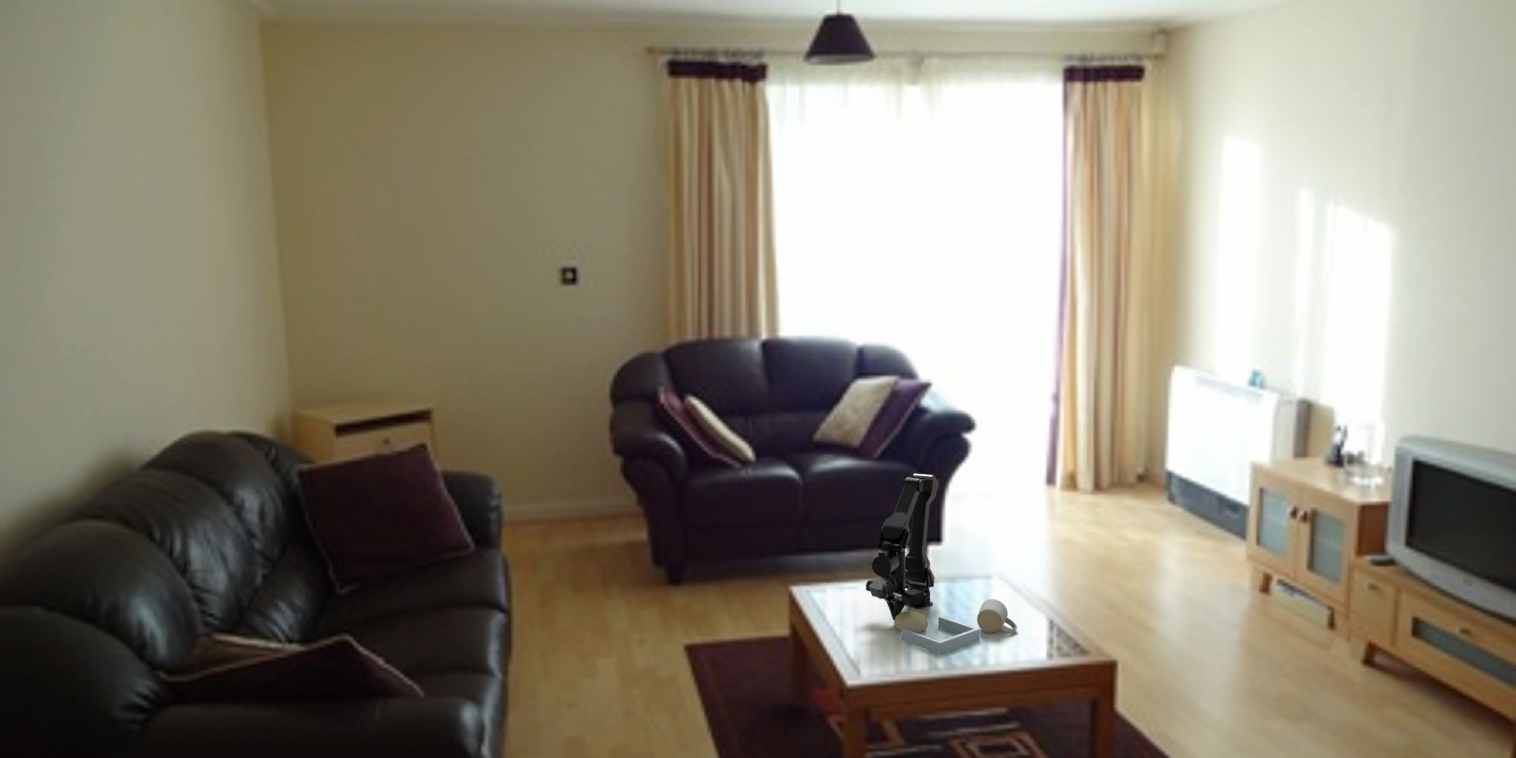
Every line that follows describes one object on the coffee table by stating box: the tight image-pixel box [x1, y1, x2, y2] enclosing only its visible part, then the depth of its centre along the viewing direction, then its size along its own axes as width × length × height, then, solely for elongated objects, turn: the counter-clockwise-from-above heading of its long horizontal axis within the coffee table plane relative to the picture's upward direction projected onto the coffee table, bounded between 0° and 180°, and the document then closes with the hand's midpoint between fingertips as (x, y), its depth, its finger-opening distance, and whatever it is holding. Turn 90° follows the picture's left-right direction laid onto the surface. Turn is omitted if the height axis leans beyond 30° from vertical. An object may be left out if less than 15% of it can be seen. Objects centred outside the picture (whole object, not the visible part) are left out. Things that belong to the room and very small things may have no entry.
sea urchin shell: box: [893, 610, 929, 634], centre depth 298 cm, size 9×8×8 cm
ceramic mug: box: [976, 598, 1018, 634], centre depth 296 cm, size 11×8×8 cm
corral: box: [900, 615, 981, 655], centre depth 290 cm, size 14×16×3 cm
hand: (895, 620), depth 303 cm, fingers closed
